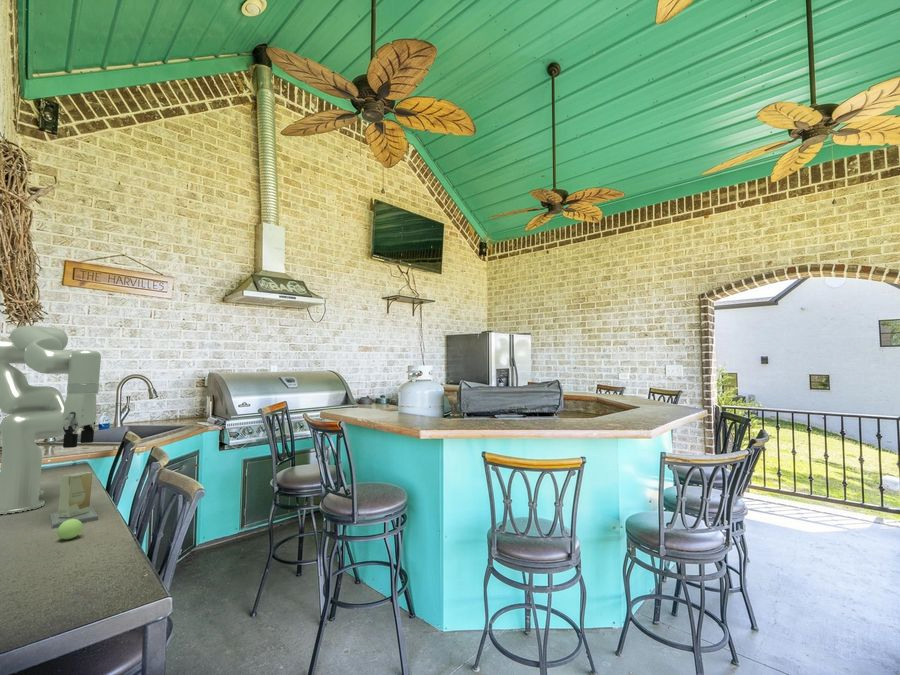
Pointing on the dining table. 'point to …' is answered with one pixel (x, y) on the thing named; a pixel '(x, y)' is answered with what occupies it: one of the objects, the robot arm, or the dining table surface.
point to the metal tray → (83, 517)
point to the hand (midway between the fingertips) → (78, 445)
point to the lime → (69, 529)
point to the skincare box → (75, 494)
